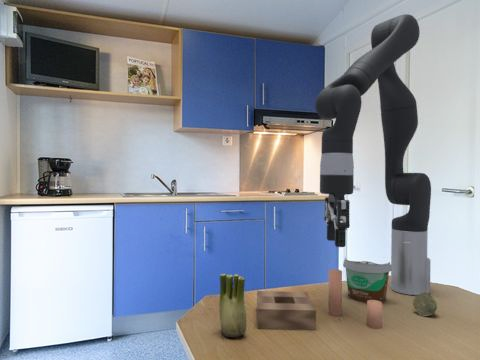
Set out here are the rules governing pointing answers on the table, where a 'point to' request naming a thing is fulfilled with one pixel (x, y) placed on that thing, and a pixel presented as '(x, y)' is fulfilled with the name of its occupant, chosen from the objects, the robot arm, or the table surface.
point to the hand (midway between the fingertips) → (335, 243)
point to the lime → (425, 304)
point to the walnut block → (285, 310)
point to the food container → (367, 280)
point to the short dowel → (374, 314)
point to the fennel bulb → (232, 305)
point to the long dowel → (335, 293)
